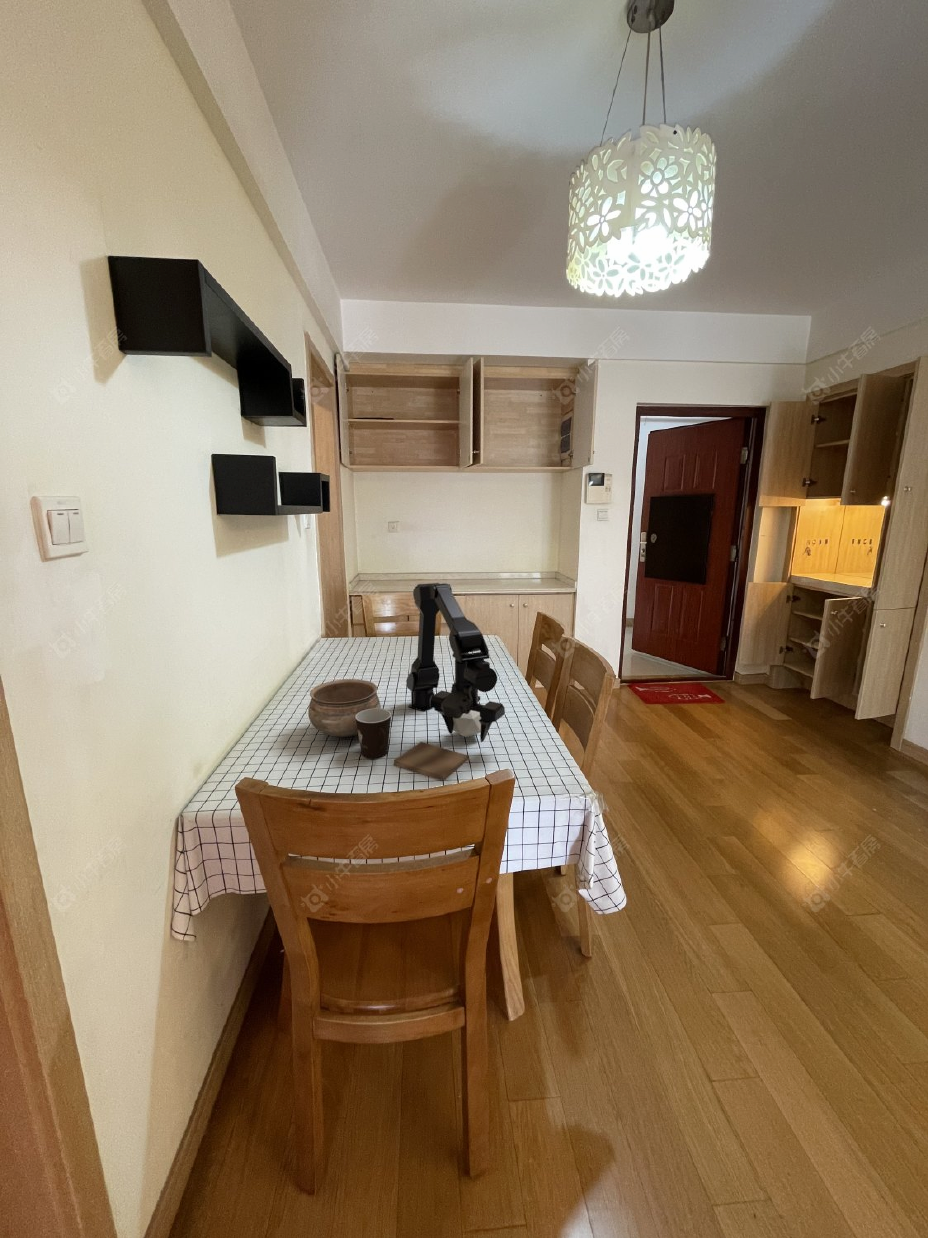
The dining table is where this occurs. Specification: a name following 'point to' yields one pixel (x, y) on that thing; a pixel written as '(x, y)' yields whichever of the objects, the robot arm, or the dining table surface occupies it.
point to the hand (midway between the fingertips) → (466, 737)
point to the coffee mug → (373, 732)
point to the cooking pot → (341, 705)
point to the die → (467, 724)
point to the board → (431, 761)
